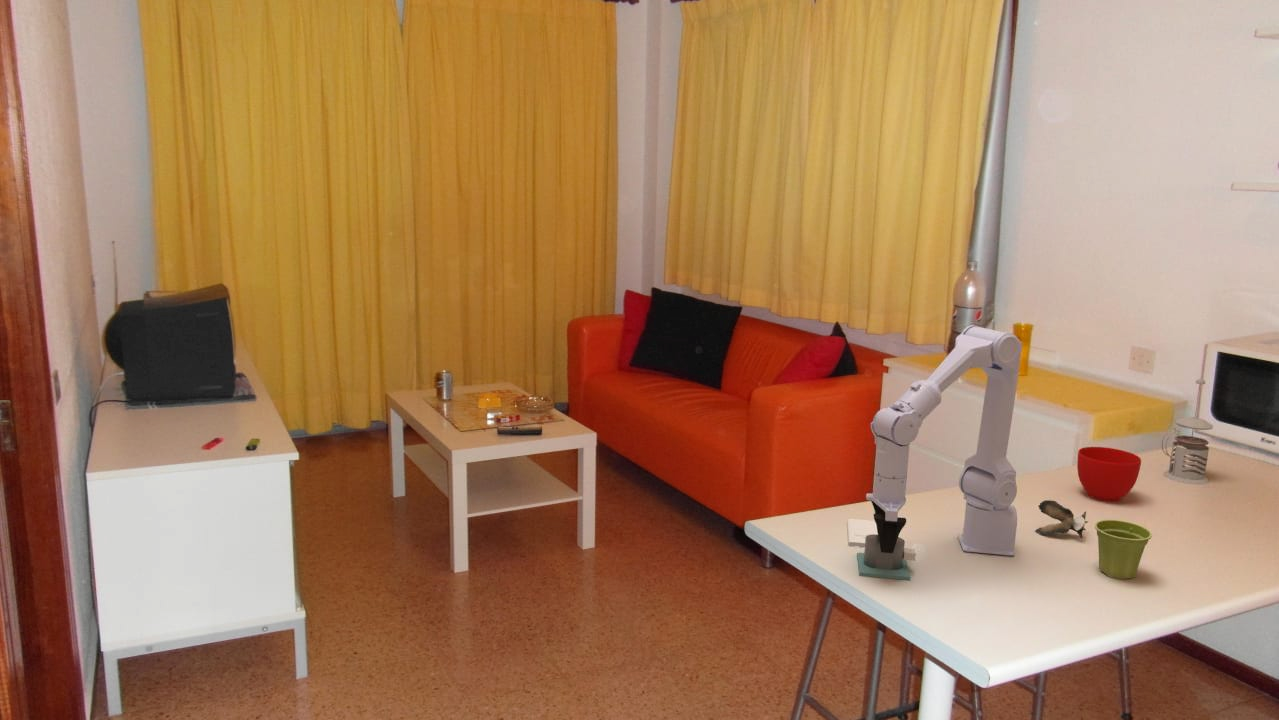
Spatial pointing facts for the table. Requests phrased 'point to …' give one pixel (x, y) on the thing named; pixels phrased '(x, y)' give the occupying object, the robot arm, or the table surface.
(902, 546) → the plug
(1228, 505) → the table surface
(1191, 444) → the french press
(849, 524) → the external hard drive
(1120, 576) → the plant pot
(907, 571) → the mat
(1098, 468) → the red bowl
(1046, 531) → the eagle figurine
